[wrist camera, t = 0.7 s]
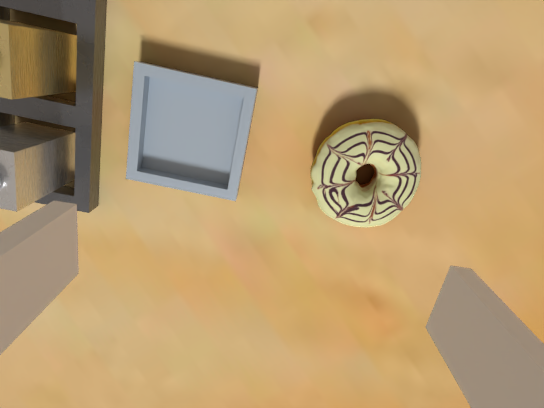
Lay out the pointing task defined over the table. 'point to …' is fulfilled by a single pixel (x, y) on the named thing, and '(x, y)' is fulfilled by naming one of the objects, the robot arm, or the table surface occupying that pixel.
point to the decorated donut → (385, 182)
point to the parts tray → (188, 130)
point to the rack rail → (89, 93)
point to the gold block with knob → (35, 61)
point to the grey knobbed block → (33, 163)
